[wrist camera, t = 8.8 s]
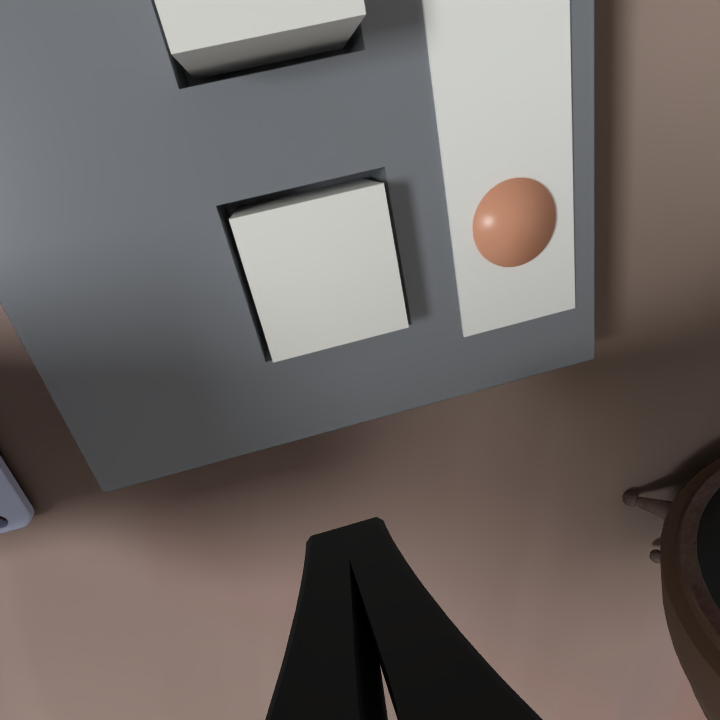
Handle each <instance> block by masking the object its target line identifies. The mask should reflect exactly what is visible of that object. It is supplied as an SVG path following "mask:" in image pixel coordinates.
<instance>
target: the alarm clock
mask: <svg viewBox="0 0 720 720" xmlns="http://www.w3.org/2000/svg"><path fill="white" fill-rule="evenodd" d="M623 501H624V503H625V504H626V505H628V506H638V507H640V508H643V509H645V510H647V511H649V512H651V513H653V514H655V515H657V516H659V517H661V518H663V519H665V522H664V526H663V530H662V535H661V547H660V551H659V550H656V549H654V550H652V551H651V552H650V555H649V556H650V559H651V560H652V561H653V562H655V563H660V562H661V579H662V595H663V605H664V610H665V616H666V621H667V625H668V629H669V632H670V636H671V639H672V642H673V646H674V649H675V651H676V654H677V656H678V659H679V661H680V664H681V666H682V668H683V670H684V672H685V674H686V676H687V678H688V680H689V682H690V684H691V687H692V689H693V692H694V694H695V697H696V699H697V700H698V702H699V704H700V706H701V708H702V710H703V712H704V714H705V716H706V718H707V719H708V720H720V458H719V459H717V460H716V461H714V462H712V463H711V464H709V465H708V466H706V467H705V468H704V469H702V470H701V471H700V472H699V473H697V474H696V475H695V476H694V477H693V478H692V479H691V480H690V481H689V482H688V483H687V484H686V485H685V486H684V487H683V488H682V490H681V491H680V492H679V494H678V495H677V496H676V498H675V499H674V501H673V502H671V501H664V500H657V499H651V498H644V497H638V495H637V494H636V493H635V492H632V491H628V492H626V493H625V494H624V495H623Z"/></svg>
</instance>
